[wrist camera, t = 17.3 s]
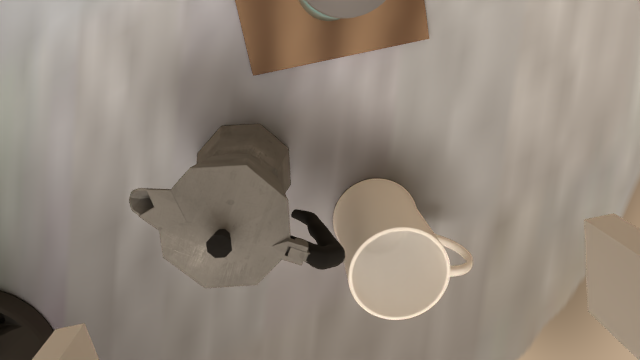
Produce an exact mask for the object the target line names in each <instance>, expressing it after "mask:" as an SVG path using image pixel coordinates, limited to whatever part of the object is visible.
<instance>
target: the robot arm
mask: <svg viewBox="0 0 640 360" xmlns="http://www.w3.org/2000/svg"><path fill="white" fill-rule="evenodd" d="M584 227H585V252H586V277H587V302H588V312H589V313H590V314H591V315H592V316H594V318H595V319H596V320H597V321H599V322H600V323H601V324H602V325H603V326H604V327H605V328H606V329H607V330H608V331H609V332H610V333H611V334H612V335H613V336H614V337H615V338H616V339H617V340H618V341H619V342H621V344H623V345H624V346H625V347H626V348H627V349H628V350H629V351H630V352H631V353H632V354H633V355H634V356H635V357H636V358H637V359H638V360H640V228H638V227H636V226H635V225H633V224H631V223H629V222H627V221H626V220H624V219H622V218H621V217H619V216H617V215H615V214H614V213H613V214H609V215H604V216H599V217H594V218H589V219H585V220H584ZM0 360H99V358H98V356H97V353H96V351H95V348H94V346H93V343H92V341H91V338H90V336H89V333H88V331H87V328H86V326H85V323H84V324H79V325H74V326H69V327H64V328H60V329H55V331H54V332H53V330H52V329H51V327H50V326H49V324H48V323H47V322H46V320H45V319H44V318H43V317H42V316H41V315H40V314H39V313H38V312H37V311H36V310H35V309H33V308H32V307H31V306H29V305H28V304H26V303H25V302H23V301H22V300H20V299H18V298H16V297H14V296H11V295H9V294H6V293H4V292H0Z"/></svg>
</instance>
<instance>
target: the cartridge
mask: <svg viewBox="0 0 640 360" xmlns="http://www.w3.org/2000/svg"><path fill="white" fill-rule="evenodd" d="M299 2H300V4H301V6H302V7H303V9H304V10H305V11H306V12H307V13H308V14H309V15H311V16H312V17H314V18H316V19H319V20H322V21H334V20H338V19H344V18H354V17H358V16H361V15H364V14H367V13H369V12H371V11H373V10H374V9H376V8H378V7H379V6H380V5H381V4H382V3H384V2H385V0H299Z"/></svg>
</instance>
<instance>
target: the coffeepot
mask: <svg viewBox="0 0 640 360" xmlns="http://www.w3.org/2000/svg"><path fill="white" fill-rule="evenodd" d="M290 185H291V180H290V164H289V149H288V148H287V147H286V146H285V145H284V144H283V143H281V142H280V141H279V140H278V139H277V138H276V137H275V136H274V135H273V134H271V133H270V132H269V131H268V130H266V129H265V128H264V127H263V126H262V125H261V124H240V125H229V126H221V127H220V128H219V129H218V130H217V132H216V133H215V134H214V135H213V136H212V137H211V139H210V140H209V141H208V142H207V143H206V144H205V145H204V147H203V148H202V149H201V150H200V151H199V152H198V153H197V164H196V165H194V166H192V167H191V168H190V169H189V170H188V171H187V172H186V173H185V174H184V175H183V176H182V177H181V178H180V179H179V181H178V182H177V183H176V184H175V185H174V186H173V188H172V189H148V188H138V189H136V190H133V191H132V192H131V194H130V199H129V203H130V207H131V209H132V211H133V212H135V213H136V214H138V215H139V217H140V218H142V219H143V220H145V221H146V222H148V223H149V224H150V225H152V226H153V227H155V228H156V229H158V230H159V233H160V240H161V247H162V253H163V258H165V259H166V260H167V261H169V262H170V263H172V264H173V265H174V266H176V267H177V268H178V269H180V270H181V271H182V272H184V273H185V274H186V275H188V276H189V277H190V278H192V279H193V280H195V281H196V282H197V283H199V284H200V285H201V286H203V287H204V288H217V287H232V286H248V285H257V284H258V283H259V282H260V281H261V280H262V279H263V278H264V277H265V276H266V275H267V274H268V273H269V272H270V271H271V270H272V269H273V268H274V267H275V266H276V265H277V264H278V263H279V262H280V261H281V260H285V261H289V262H292V263H295V264H298V265H302V263H303V261H305V262H306V263H308V264H310V265H311V266H312V267H315V268H317V269H328V268H331V267H335V266H338V265H339V264H340V263H342V262H343V261H344V259H345V250H344V248H343V247H342V246H341V244H340V243H339V242H338V241H337V240H336V239H335V238H334V236H333V235H332V234H331V232H330V231H329V230H328V228H327V227H326V226H325V225H324V224H323V223H322V222H321V220H320V219H319V218H318V217H317V215H315V214H314V213H312V212H308V211H302V210H294V211H293V212H292V214H291V216H292V217H293V218H295V219H297V220H299V221H301V222H302V223H304V224H306V225H307V226H308V231H309V233H310V235H311V236H312V237H313V238H314V239H315V240H316V242H317V244H318V245H316V244H313V243H310V242H308V241H306V240H304V239H301V238H297V237H294V236H291V235H290V221H289V206H288V199H287V197H286V195H285V193H286V191H287V190H288V188H289V186H290Z"/></svg>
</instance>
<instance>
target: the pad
mask: <svg viewBox="0 0 640 360" xmlns="http://www.w3.org/2000/svg"><path fill="white" fill-rule="evenodd" d="M235 2H236V6H237V10H238V14H239V19H240V23H241V27H242V31H243V35H244V39H245V44H246V48H247V52H248V56H249V60H250V65H251V69H252V73H253V76H254V75H259V74H264V73H268V72H273V71H278V70H283V69H287V68H292V67H297V66H302V65H306V64H311V63H316V62H321V61H325V60H330V59H335V58H340V57H344V56H349V55H354V54H359V53H363V52H368V51H373V50H378V49H382V48H387V47H392V46H397V45H401V44H406V43H411V42H416V41H421V40H425V39H429V34H428V26H427V18H426V10H425V2H424V0H385V2H384V3H382V4H381V5H380V6H379V7H378V8H376V9H374V10H373V11H371V12H369V13H367V14H364V15H361V16H358V17H354V18H344V19H338V20H334V21H322V20H319V19H316V18H314V17H312V16H311V15H309V14H308V13H307V12H306V11H305V10H304V9H303V7H302V6H301V4H300V2H299V0H235Z"/></svg>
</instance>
